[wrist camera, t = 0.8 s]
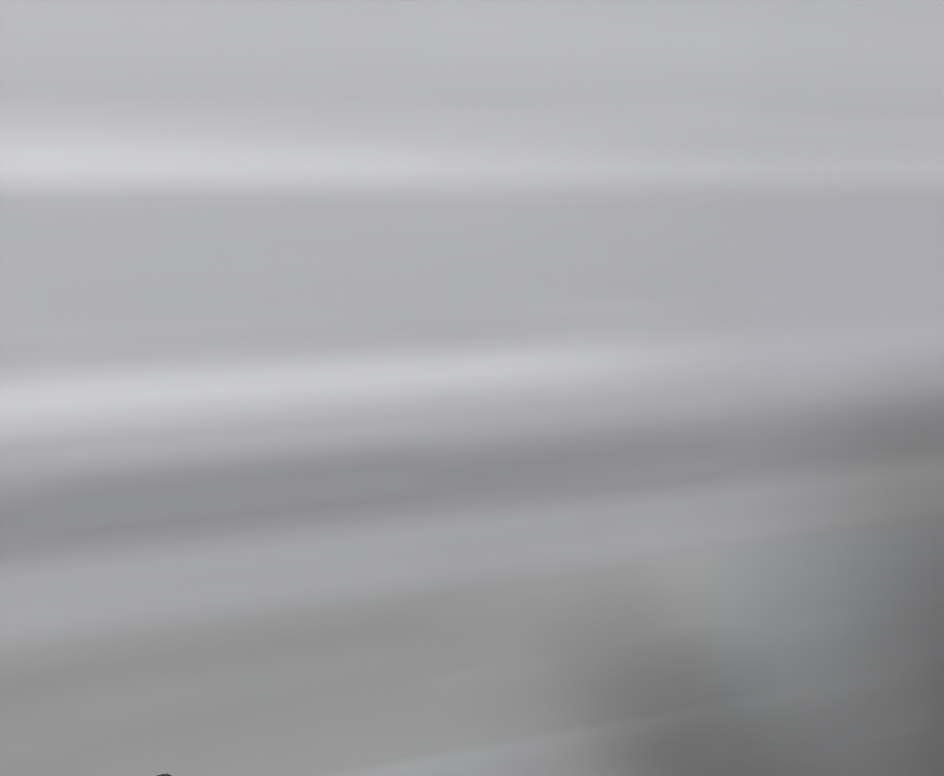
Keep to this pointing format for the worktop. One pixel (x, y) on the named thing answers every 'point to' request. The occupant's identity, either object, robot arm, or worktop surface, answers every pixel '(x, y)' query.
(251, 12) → the worktop surface
